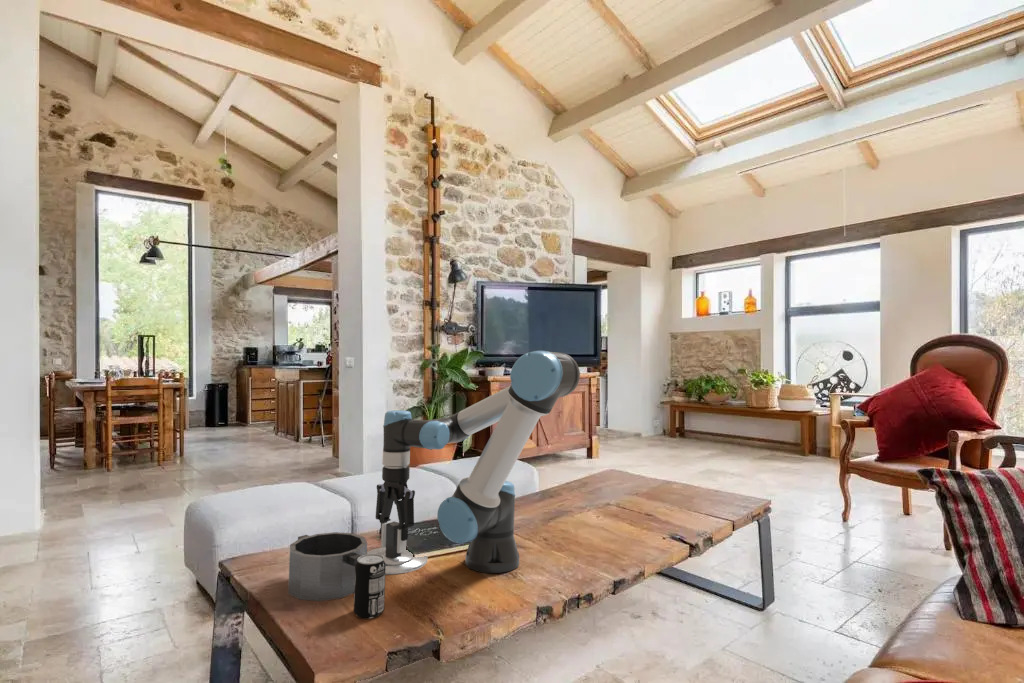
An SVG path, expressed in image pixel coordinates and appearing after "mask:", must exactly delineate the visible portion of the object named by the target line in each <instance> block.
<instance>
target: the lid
mask: <svg viewBox="0 0 1024 683" xmlns="http://www.w3.org/2000/svg"><path fill="white" fill-rule="evenodd" d="M390 522H391V523H388V524H386V547H383V548H382V547H379V548H374V549H371V550H369V551H368V550H367V554H379V555H382V556H383V557H384V562H385V564H386V567H385V576H386V575H387V576H388V575H389V576H390V575H392V576H394V575H401V574H402V575H403V574H407V573H412V572H415V571H417V570H420V569H421V568H424V566H425V565H427V563H428V555H427V556H424V557H417V558H416V557H413V554H412V553H411V552H409V551H408V550H406V551H404V552H401V553H397V536H398V528H400V524H399V521H390Z"/></svg>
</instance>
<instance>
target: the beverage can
mask: <svg viewBox="0 0 1024 683" xmlns="http://www.w3.org/2000/svg"><path fill="white" fill-rule="evenodd" d="M357 561H358V562H357V564H356V566H355V586H354V593H353V594H354V596H353V614H354V615H355V616H356V617H357V618H359V619H364V620H365V619H366V620H367V619H374V618H377V617H379V616H380V615H381V614H382V613H383V612H384V611H385V593H386V575H385V567H386V564H385V562H384V557H383V556H382V555H379V554H367V555H363V556H360V557H359V558H358V559H357Z"/></svg>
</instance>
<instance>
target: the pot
mask: <svg viewBox="0 0 1024 683" xmlns="http://www.w3.org/2000/svg"><path fill="white" fill-rule="evenodd" d="M367 552H368V542H367V540H366V537H365V536H362V535H359V534H356V533H353V532H352V533H351V532H341V531H340V532H339V531H336V532H335V531H334V532H324V533H323V532H322V533H315V534H312V535H308V534H303V535H301V536H297V540H296V541H294V542H292V543H290V544H289V562H288V566H289V567H288V585H287V586H288V587H287V588H288V595H290V596H291V597H295V598H296V599H298V600H303V601H314V602H323V601H330V600H336V599H337V600H338V599H342V598H345V597H348V596H350V595H353V594H354V586H355V566H356V564H357V562H358V561H357V559H358V558H359V557H360V556H363V555H367Z"/></svg>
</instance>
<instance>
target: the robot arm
mask: <svg viewBox="0 0 1024 683" xmlns="http://www.w3.org/2000/svg"><path fill="white" fill-rule="evenodd" d="M580 371H581V370H580V368H579V365H578V363H577V361H576V360H575V359H574V358H573V357H572V356H571V355H569V354H567V353H564V352H557V351H556V352H554V351H547V350H534V351H530V352H526V353H524V354H523V355H521V356H519V357H518V359H516V360H515V362H514V364H513V366H512V368H511V370H510V376H509V377H510V378H509V379H510V385H509V386H507V387H505V388H503V389H502V390H499V391H498V392H495V393H493V394H491V395H489V396H487V397H486V398H484V399H482V400H480V401H478V402H476V403H473V404H471V405H470V406H468V407H465V408H464V409H462V410H460V411H458V412H456V413H454V414H452V415H451V416H448V417H442V418H434V419H427V420H426V419H414V418H412V412H411V411H410V410H404V409H403V410H401V409H399V410H388V411H386V412H385V413H384V419H383V425H382V426H383V427H382V428H383V448H382V449H383V450H382V465H383V467H382V468H381V471H382V473H381V479H382V480H383V481H384V482H383V483H379V484H377V485H376V491H377V492H376V494H377V495H376V496H377V497H376V506H375V519H376V520H378V521H379V523H380V534H381V535H380V548H383V547H386V524H388V523H391V522H392V521H391V520H392V519H391V518H390V517H391V513H392V509H393V505H396V512H397V517H398V523H399V524H400V528H398V536H397V553H401V552H404V551H406V546H407V541H408V539H409V528H412V527H414V526H415V506H414V505H415V504H414V503H415V501H414V500H415V495H416V491H415V489H414V490H411V489H409V488H408V484H407V483H408V480H409V479H410V474H411V473H410V471H411V470H410V469H411V467H410V466H409V465H410V464H411V460H410V458H411V447H414V448H421V449H426V450H431V451H432V450H442V449H444V448H445V446H447V445H448V444H453V443H460V442H463V441H465V440H466V439H468V438H469V437H470V436H471V435H473V434H475V433H477V432H480V431H482V430H484V429H486V428H488V427H490V426H492V425H495V424H496V423H497V424H496V426H495V428H494V429H493V432H492V433H491V435H490V437H489V439H488V440H487V443H486V444H485V446H484V448H483V450H482V452H481V454H480V456H479V458H478V460H477V462H476V464H475V466H474V467H473V468H472V471H471V473H470V474H469V476H468V477H464V478H461V479H460V481H459V483H458V485H457V486H456V488H455V490H454V492H453V494H452V495H451V496H449V497H446V498H445V499H444V500H442V502H441V503H440V505H439V507H438V509H437V517H436V518H437V522H438V523H439V528H440V531H441V533H442V535H444V536H445V538H446V539H447V540H449V541H450V542H453V543H456V544H465V543H469V544H468V546H467V551H466V553H465V558H464V559H465V563H464V564H465V566H466V567H467V568H468V569H470V570H473V571H476V572H478V573H479V572H480V573H487V574H488V573H489V574H500V573H506V572H510V571H513V570H515V569H517V568H518V567H519V566H520V553H519V551H518V546H517V543H516V542H517V541H516V539H515V536H514V534H515V532H514V531H515V530H514V529H515V507H516V506H515V503H516V502H515V501H516V500H515V499H516V493H515V489H516V488H515V485H514V484H513V482H511V481H508V480H507V479H508V477H509V474H511V471H512V469H513V468H514V466H515V464H516V462H517V460H518V458H520V455H521V453H522V451H523V449H524V448H525V445H527V442H528V441H529V439H530V437H531V434H532V433H533V432H534V429H535V427H536V425H537V424H538V422H539V420H540V418H541V417H544V416H548V415H550V413H551V412H552V409H553V408H554V406H555V404H556V403H557V401H558V399H559V398H564V397H566V396H568V395H570V394H571V393H573V392H574V391H575V389H577V387H578V386H579V383H580V379H581V372H580Z"/></svg>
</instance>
